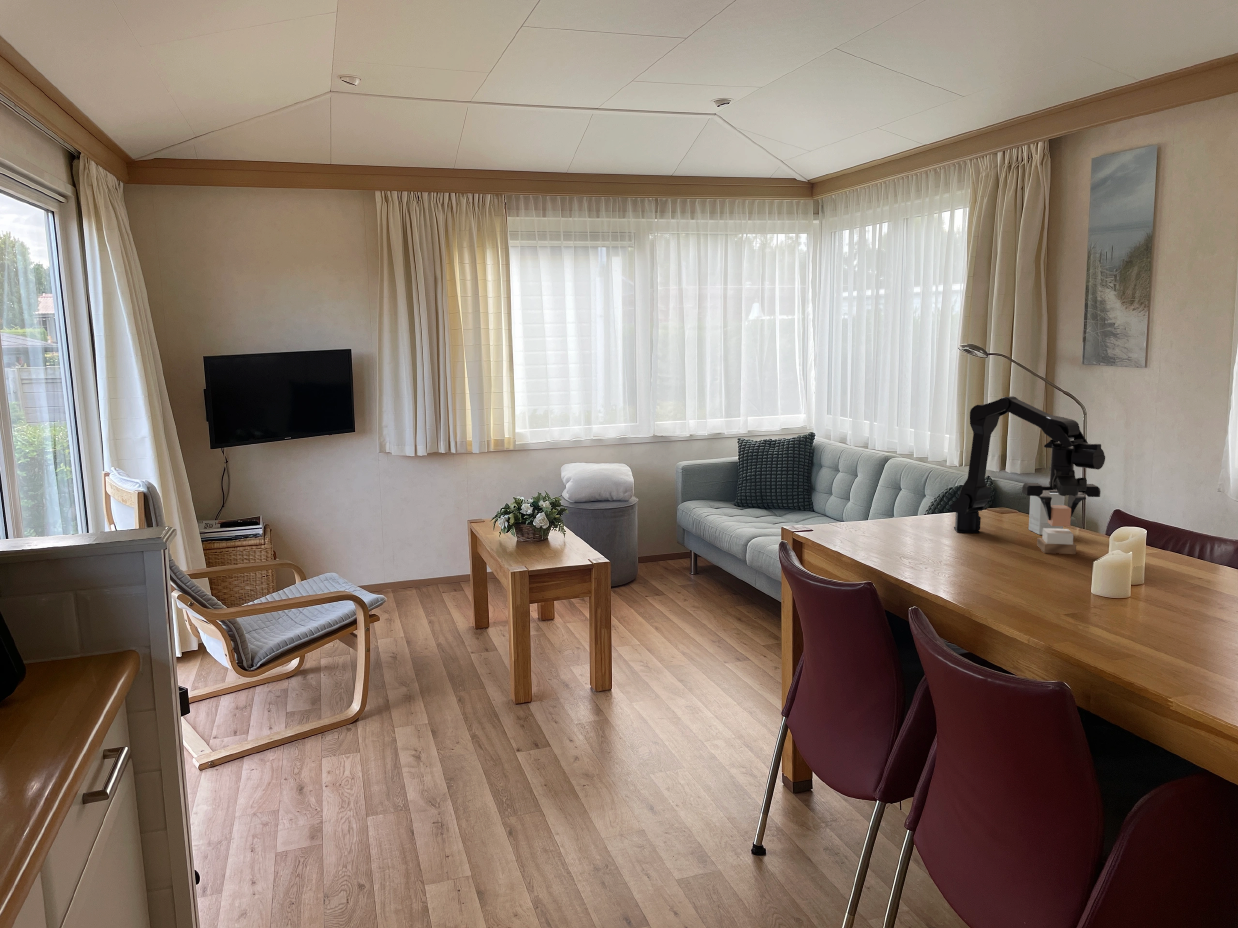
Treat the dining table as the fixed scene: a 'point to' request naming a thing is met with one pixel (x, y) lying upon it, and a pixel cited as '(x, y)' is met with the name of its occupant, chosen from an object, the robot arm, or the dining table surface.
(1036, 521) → the supplement box
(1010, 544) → the dining table surface
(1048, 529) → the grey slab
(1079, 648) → the dining table surface
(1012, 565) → the dining table surface
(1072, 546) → the walnut slab
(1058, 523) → the terracotta block
